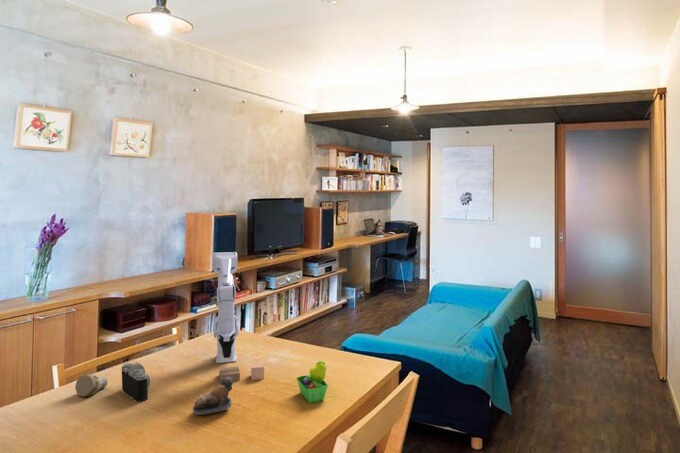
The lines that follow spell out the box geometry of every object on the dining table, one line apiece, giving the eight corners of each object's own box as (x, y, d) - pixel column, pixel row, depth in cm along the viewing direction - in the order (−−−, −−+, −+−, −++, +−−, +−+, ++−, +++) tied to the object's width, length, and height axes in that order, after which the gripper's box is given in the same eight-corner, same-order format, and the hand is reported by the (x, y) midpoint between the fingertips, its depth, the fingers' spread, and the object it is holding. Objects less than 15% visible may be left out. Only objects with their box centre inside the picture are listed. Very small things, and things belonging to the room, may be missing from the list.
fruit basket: (295, 391, 150) (295, 358, 150) (320, 387, 154) (320, 355, 153) (306, 405, 140) (306, 370, 139) (332, 400, 143) (332, 366, 143)
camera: (158, 396, 146) (158, 367, 146) (137, 403, 141) (137, 373, 141) (139, 384, 156) (139, 356, 156) (119, 390, 151) (119, 361, 151)
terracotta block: (250, 375, 165) (250, 363, 164) (263, 374, 166) (263, 362, 165) (251, 380, 160) (251, 368, 160) (264, 379, 161) (264, 366, 161)
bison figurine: (194, 420, 130) (193, 386, 130) (191, 410, 137) (191, 378, 136) (235, 412, 135) (234, 380, 135) (231, 403, 142) (230, 372, 141)
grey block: (219, 358, 164) (219, 346, 163) (232, 357, 165) (232, 345, 164) (219, 362, 159) (219, 350, 159) (232, 361, 160) (232, 349, 160)
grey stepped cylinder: (114, 387, 155) (108, 368, 149) (91, 409, 147) (84, 390, 142) (98, 379, 157) (92, 360, 152) (75, 400, 149) (67, 381, 144)
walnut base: (219, 376, 165) (219, 368, 165) (238, 374, 167) (238, 366, 167) (219, 383, 158) (219, 375, 158) (239, 381, 160) (239, 372, 160)
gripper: (215, 314, 167) (216, 349, 168) (214, 324, 153) (215, 362, 154) (234, 313, 169) (235, 348, 170) (235, 323, 155) (235, 361, 156)
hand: (227, 355), depth 162 cm, fingers closed on grey block, 4 cm apart
